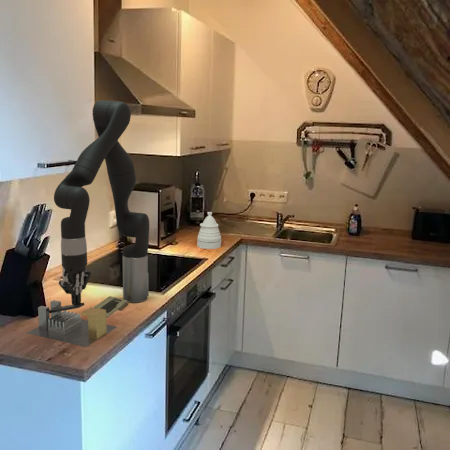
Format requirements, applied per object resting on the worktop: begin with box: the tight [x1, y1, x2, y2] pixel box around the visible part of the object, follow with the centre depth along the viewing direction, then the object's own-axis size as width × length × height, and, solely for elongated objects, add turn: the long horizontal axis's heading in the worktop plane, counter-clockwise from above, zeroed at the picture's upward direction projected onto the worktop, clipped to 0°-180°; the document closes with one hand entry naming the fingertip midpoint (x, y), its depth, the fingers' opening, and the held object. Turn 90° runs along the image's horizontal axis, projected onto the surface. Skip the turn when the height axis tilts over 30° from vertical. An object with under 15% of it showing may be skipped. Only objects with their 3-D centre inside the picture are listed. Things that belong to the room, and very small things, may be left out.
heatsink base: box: [26, 299, 117, 348], centre depth 159 cm, size 16×22×8 cm
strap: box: [49, 302, 85, 314], centre depth 159 cm, size 3×14×1 cm, turn 68°
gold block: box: [81, 306, 108, 340], centre depth 156 cm, size 5×6×8 cm
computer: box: [92, 296, 129, 319], centre depth 178 cm, size 16×8×3 cm, turn 165°
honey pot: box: [196, 211, 222, 250], centre depth 269 cm, size 13×13×18 cm
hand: (76, 304), depth 157 cm, fingers closed
